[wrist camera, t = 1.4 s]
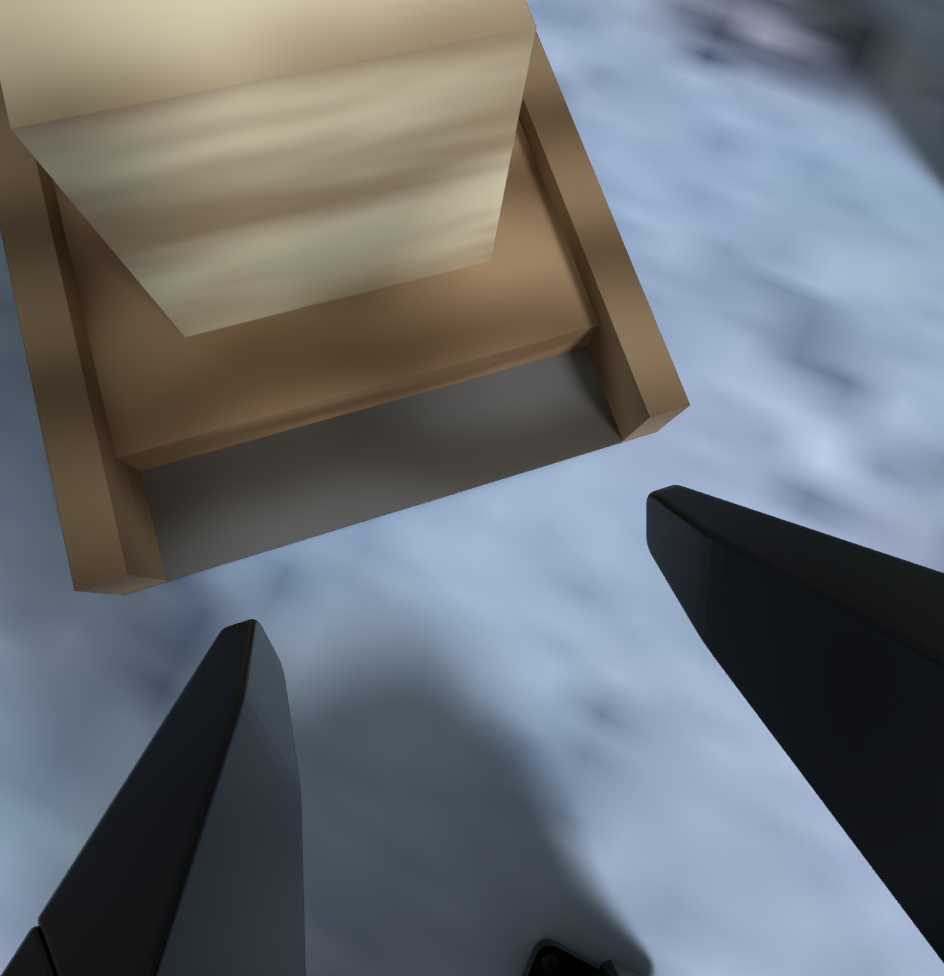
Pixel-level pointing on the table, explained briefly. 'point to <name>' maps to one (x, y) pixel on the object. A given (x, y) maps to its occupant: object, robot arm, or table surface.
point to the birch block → (272, 139)
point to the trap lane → (328, 373)
